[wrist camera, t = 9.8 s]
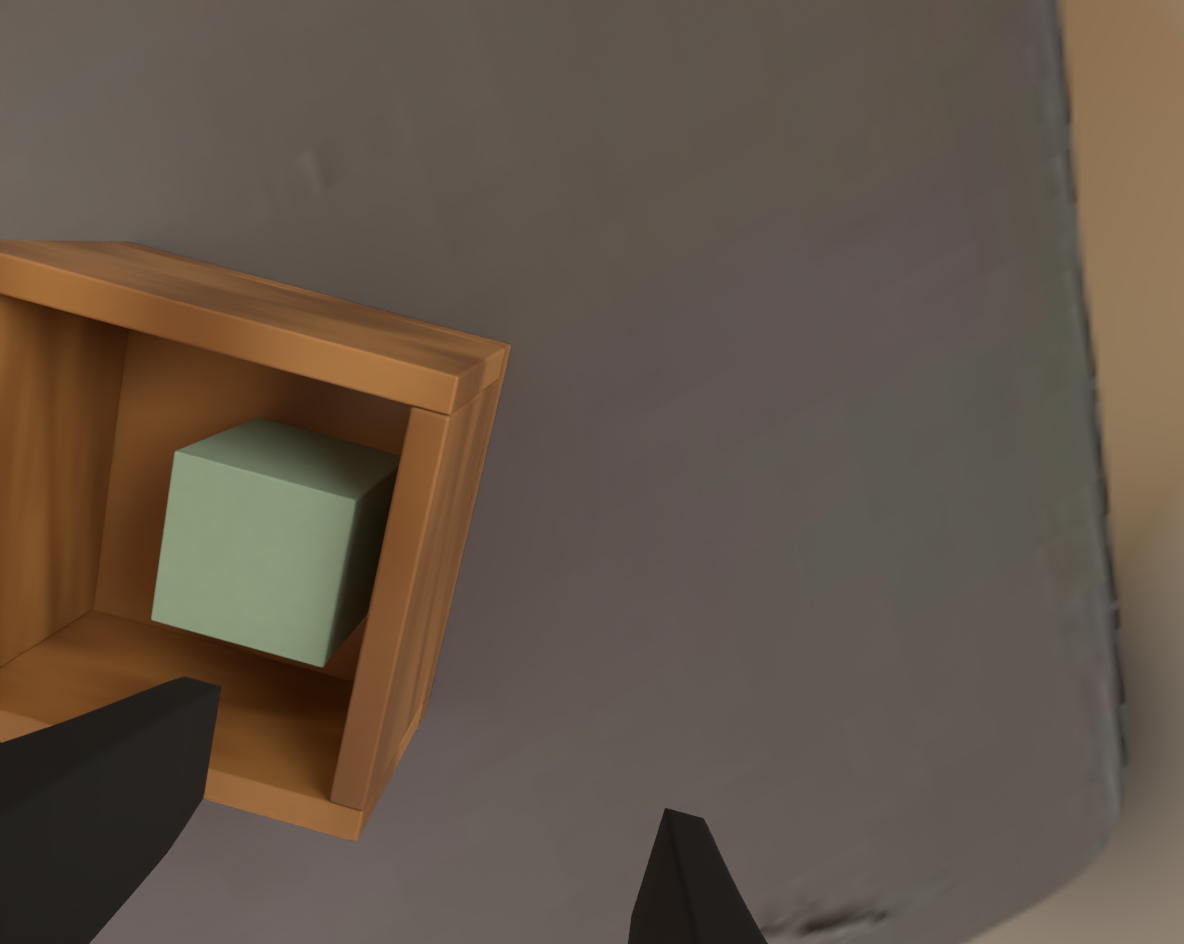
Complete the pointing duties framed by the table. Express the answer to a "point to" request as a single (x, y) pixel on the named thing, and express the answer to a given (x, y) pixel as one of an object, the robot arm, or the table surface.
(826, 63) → the table surface
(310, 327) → the case
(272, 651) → the sage block
